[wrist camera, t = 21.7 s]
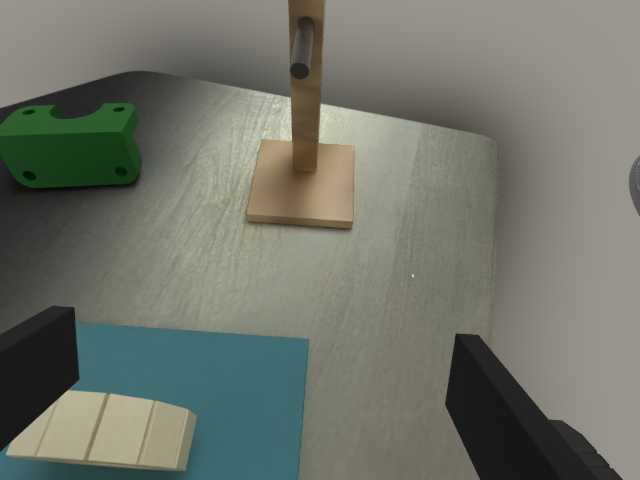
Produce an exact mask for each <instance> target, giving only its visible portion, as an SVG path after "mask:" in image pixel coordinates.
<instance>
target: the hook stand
mask: <svg viewBox="0 0 640 480" xmlns="http://www.w3.org/2000/svg"><path fill="white" fill-rule="evenodd" d="M325 1H326V0H288V3H289V40H290V78H291V115H292V141H279V140H265V139H261V143H260V148H259V153H258V158H257V163H256V168H255V173H254V178H253V183H252V188H251V193H250V198H249V203H248V208H247V213H246V214H247V219H248V221H252V222H266V223H280V224H294V225H308V226H322V227H336V228H350V229H351V228H352V225H353V207H354V146H349V145H335V144H321V143H319V126H320V105H321V85H322V64H323V44H324V23H325Z"/></svg>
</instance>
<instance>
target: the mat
mask: <svg viewBox="0 0 640 480" xmlns="http://www.w3.org/2000/svg"><path fill="white" fill-rule="evenodd" d="M75 324H76V337H77V350H78V363H79V376H80V380H79V381H77V382H76V383H75V384H74V385H73V386H72V387H71V388H70V389H69V390H71V391H85V392H99V393H106V394H108V395H110V394H117V395H124V396H130V397H136V398H143V399H149V400H153V401H159V402H163V403H167V404H171V405H175V406H178V407H182V408H186V409H188V410H190V411H191V412H192V413H194V414H195V415H196V416H197V419H196V423H195V428H194V433H193V438H192V442H191V447H190V452H189V456H188V461H187V466H186V470H185V471H165V470H148V469H133V468H119V467H106V466H94V465H81V464H69V463H59V462H48V461H37V460H28V459H20V458H11V457H8V456H6V453H7V450H8V448H9V446H10V444H8V445H7V446H6V447H5V448H4V449H3V450H2V451H1V452H0V480H298V472H299V459H300V446H301V433H302V420H303V407H304V394H305V381H306V368H307V355H308V342H309V340H308V339H299V338H285V337H271V336H257V335H243V334H229V333H215V332H201V331H187V330H173V329H159V328H145V327H131V326H117V325H103V324H88V323H75Z"/></svg>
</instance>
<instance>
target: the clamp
mask: <svg viewBox="0 0 640 480" xmlns="http://www.w3.org/2000/svg"><path fill="white" fill-rule="evenodd" d="M138 122H139V119H138V116H137V113H136V110H135V107H134V105H132V104H128V103H113V104H103V106H102V108H101V109H100V110H98V111H97V112H95V113H93V114H91V115H88V116H85V117H81V118H75V119H62V118H61V115H60V113H59V111H58V109H57V107H56V105H46V106H29V107H24V108H21V109H18V110H16V111H15V112H13V113H12V114H11V115H10V116H9V117H8V118H7V119H6V120H5V121H4V122H3V123H2V124H1V125H0V155H1V157H2V158H3V160H4V162H5V163H6V165H7V166H8V168H9V170H10V171H11V173H12V174H13V176H14V178H15V179H16V180H17V181H18V182H20V183H21V184H23V185H25V186H27V187H31V188H48V187H69V186H90V185H112V184H129V183H132V182H133V181H134V180H135V179H136V177H137V175H138V172H139V170H140V167H141V165H142V161H141V158H140V155H139V152H138V149H137V146H136V143H135V141H134V138H133V135H132V134H133V132H134V130H135V128H136V126H137V124H138Z"/></svg>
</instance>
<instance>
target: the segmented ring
mask: <svg viewBox="0 0 640 480" xmlns="http://www.w3.org/2000/svg"><path fill="white" fill-rule="evenodd" d="M196 419H197V416H196V415H195V414H194V413H192V412H191V411H190V410H188V409H186V408H182V407H178V406H175V405H171V404H167V403H163V402H159V401H153V400H149V399H143V398H136V397H130V396H124V395H117V394H110V395H108V394H106V393H99V392H85V391H71V390H68V391H66V392H65V393H64V394H63V395H62V396H61V397H60V398H59V399H58V400H57V401H56V402H54V403H53V404H52V405H51V406H50V407H49V408H48V409H47V410H46V411H45V412H43V413H42V414H41V415H40V416H39V417H38V418H37V419H36V420H35V421H34V422H33V423H31V424H30V425H29V426H28V427H27V428H26V429H25V430H24V431H23V432H22V433H21V434H19V435H18V436H17V437H16V438H15V439H14V440H13V441H12V442H11V443H10V446H9V448H8V450H7V453H6V456H8V457H11V458H20V459H28V460H37V461H48V462H59V463H69V464H81V465H94V466H106V467H119V468H133V469H148V470H165V471H185V470H186V466H187V461H188V456H189V452H190V447H191V442H192V438H193V433H194V428H195V423H196Z"/></svg>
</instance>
